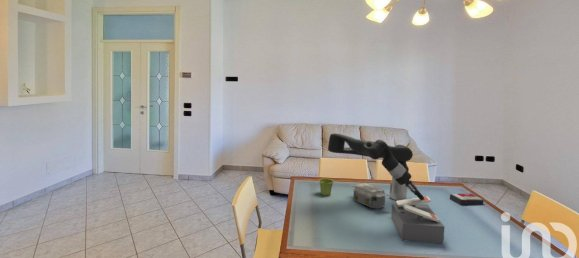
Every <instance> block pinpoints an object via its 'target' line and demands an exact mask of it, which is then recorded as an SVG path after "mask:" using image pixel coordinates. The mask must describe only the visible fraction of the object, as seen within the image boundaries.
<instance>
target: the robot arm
mask: <svg viewBox="0 0 579 258" xmlns="http://www.w3.org/2000/svg"><path fill="white" fill-rule="evenodd" d="M329 135H330V136H329V138H328V139H329V140H328V144H327V145H328V146H327V151H328V152H331V153H334V154H335V153H336V154H347V155H357V156H362V157H367V158H368V157H369V158H370V159H372V160H379V159H382V161H381V165H382V166H383V167H384V168H385V169H386V171H388V173H389V175H390V176H391V182H390V183H389V184H390V185H389V195H390V196H388V197H389V198H390V199H392V200H394V201H398V200H405V199H407V197H408V196H407V195H408V190H409V191H410V192H411V193H412V194H414V196H417V197H416V198H419V199H420V200H423V199H424V197H425V196H424V195H423V194H422V193H421V192H420V190H419V189H418V187H417V186H416V185H415V183H414V182H413V181H412V180H411V179H412V174H411V173H410V172H409V166H408V165H407V162H408V161H410V160H412V159H413V151H412V150H411V148H409V147H408V146H406V145H403V144H396V145H395V146H391V145H388V143H387V142H386V141H384V140H382V139H376V140H375V141H371V140H363V139H358V138H354V137H351V136H348V135H345V134H341V133H331V134H329ZM345 144H347V145H348V146H349V147H345Z"/></svg>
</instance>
